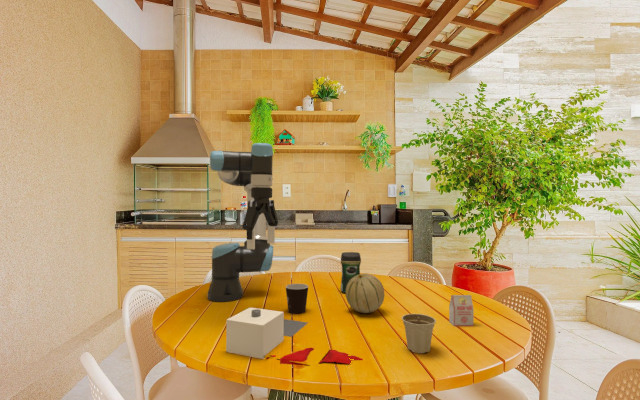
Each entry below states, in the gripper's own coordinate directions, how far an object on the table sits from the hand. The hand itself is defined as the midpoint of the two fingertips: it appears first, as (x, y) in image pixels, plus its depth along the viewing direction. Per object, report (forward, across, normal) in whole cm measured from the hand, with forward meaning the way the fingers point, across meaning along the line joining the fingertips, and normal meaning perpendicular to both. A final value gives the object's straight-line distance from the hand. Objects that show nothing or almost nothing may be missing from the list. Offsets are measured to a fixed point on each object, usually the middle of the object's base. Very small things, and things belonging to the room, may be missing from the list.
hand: (261, 246), depth 121 cm
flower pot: (+25, -5, -56) cm, 61 cm away
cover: (+25, -22, -12) cm, 35 cm away
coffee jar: (+27, +47, -20) cm, 58 cm away
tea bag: (+26, +21, -67) cm, 75 cm away
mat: (+26, -6, -12) cm, 29 cm away
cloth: (+26, -21, -30) cm, 45 cm away
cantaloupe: (+26, +21, -33) cm, 47 cm away
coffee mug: (+26, +12, -9) cm, 30 cm away
